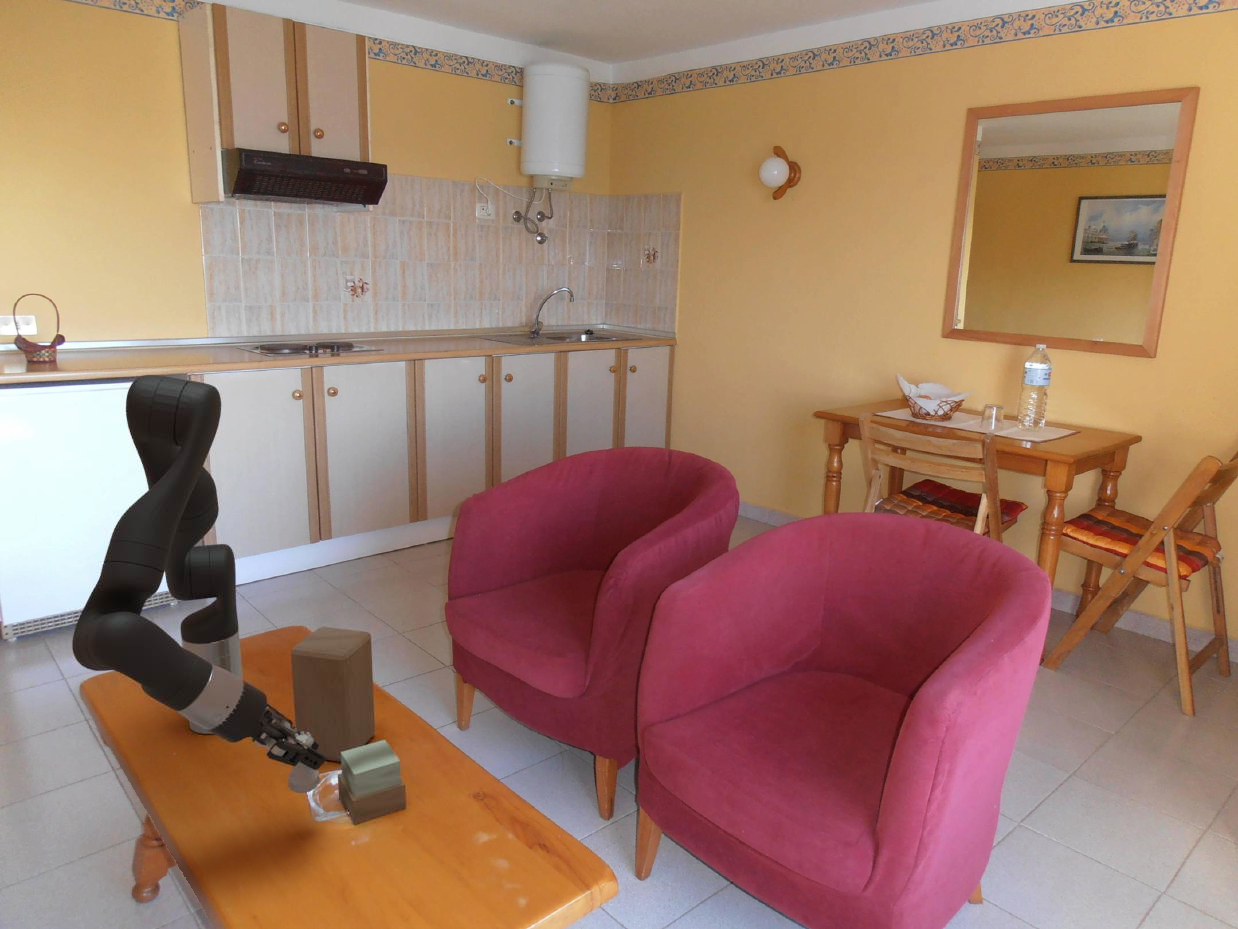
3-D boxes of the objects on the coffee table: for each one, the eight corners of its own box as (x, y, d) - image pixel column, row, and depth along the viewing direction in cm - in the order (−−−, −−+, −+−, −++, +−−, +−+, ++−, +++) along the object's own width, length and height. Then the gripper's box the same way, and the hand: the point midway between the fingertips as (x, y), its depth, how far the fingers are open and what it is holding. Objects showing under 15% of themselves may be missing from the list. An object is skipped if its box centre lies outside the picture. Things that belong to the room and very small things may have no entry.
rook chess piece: (292, 776, 127) (290, 727, 126) (323, 775, 128) (321, 727, 126) (283, 794, 123) (280, 745, 121) (315, 794, 124) (313, 745, 122)
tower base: (338, 797, 135) (336, 751, 133) (388, 781, 140) (387, 737, 138) (354, 825, 129) (352, 777, 127) (406, 807, 133) (404, 761, 131)
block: (349, 765, 144) (343, 655, 139) (294, 757, 146) (287, 648, 141) (377, 734, 153) (373, 630, 149) (326, 727, 155) (320, 624, 151)
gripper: (251, 703, 111) (349, 760, 121) (231, 658, 123) (322, 713, 132) (209, 751, 110) (312, 804, 119) (193, 701, 121) (288, 754, 131)
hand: (317, 756), depth 126 cm, fingers closed on rook chess piece, 3 cm apart
